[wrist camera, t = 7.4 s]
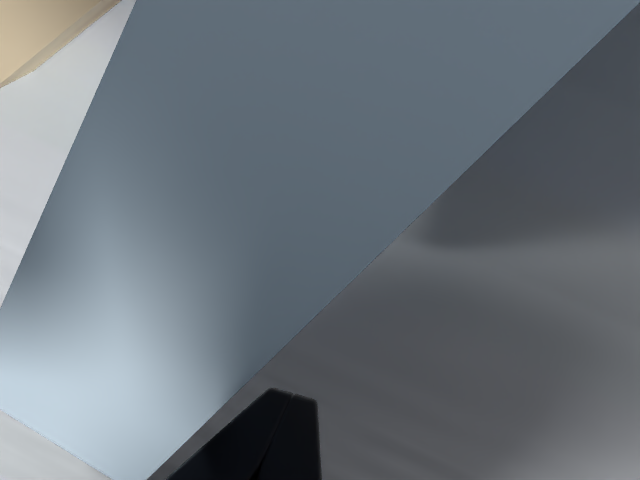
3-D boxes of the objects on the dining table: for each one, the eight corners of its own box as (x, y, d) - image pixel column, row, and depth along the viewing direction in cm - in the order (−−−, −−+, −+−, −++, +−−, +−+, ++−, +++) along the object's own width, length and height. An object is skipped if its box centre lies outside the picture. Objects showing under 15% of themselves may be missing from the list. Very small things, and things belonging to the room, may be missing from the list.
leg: (492, -494, 5) (474, -767, 3) (751, -232, 5) (926, -274, 3) (73, 276, 11) (-36, 388, 9) (205, 365, 12) (133, 492, 10)
